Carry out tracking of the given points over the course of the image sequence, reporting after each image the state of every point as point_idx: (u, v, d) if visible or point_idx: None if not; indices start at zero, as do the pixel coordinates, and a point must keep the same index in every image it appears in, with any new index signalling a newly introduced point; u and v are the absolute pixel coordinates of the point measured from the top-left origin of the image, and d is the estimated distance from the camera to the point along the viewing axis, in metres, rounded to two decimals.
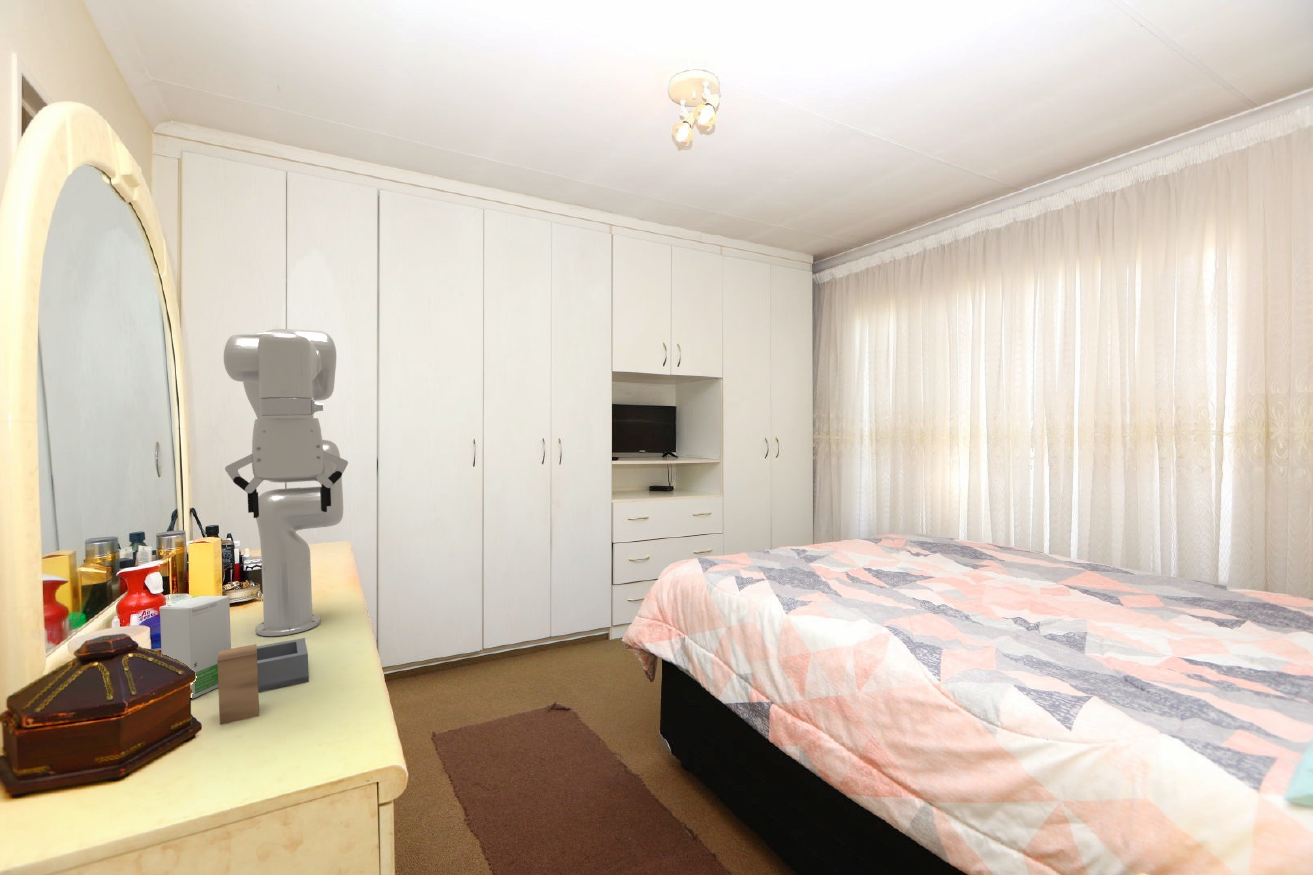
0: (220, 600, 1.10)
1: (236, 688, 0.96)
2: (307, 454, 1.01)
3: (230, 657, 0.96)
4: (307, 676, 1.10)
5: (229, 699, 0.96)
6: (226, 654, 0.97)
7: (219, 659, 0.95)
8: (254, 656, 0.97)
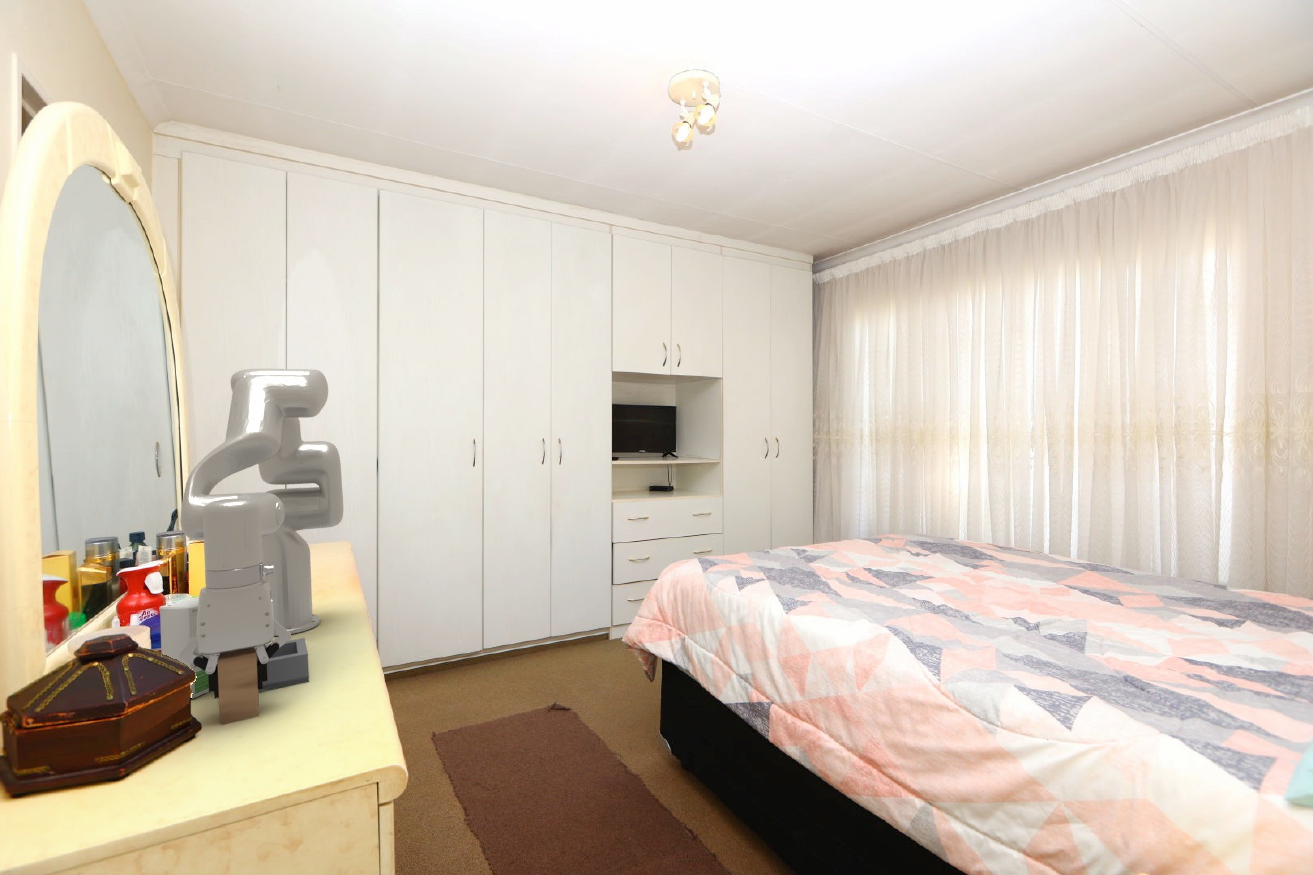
0: None
1: (236, 688, 0.96)
2: (255, 623, 0.97)
3: (230, 657, 0.96)
4: (307, 676, 1.10)
5: (229, 699, 0.96)
6: (226, 653, 0.97)
7: (219, 659, 0.95)
8: (254, 656, 0.97)
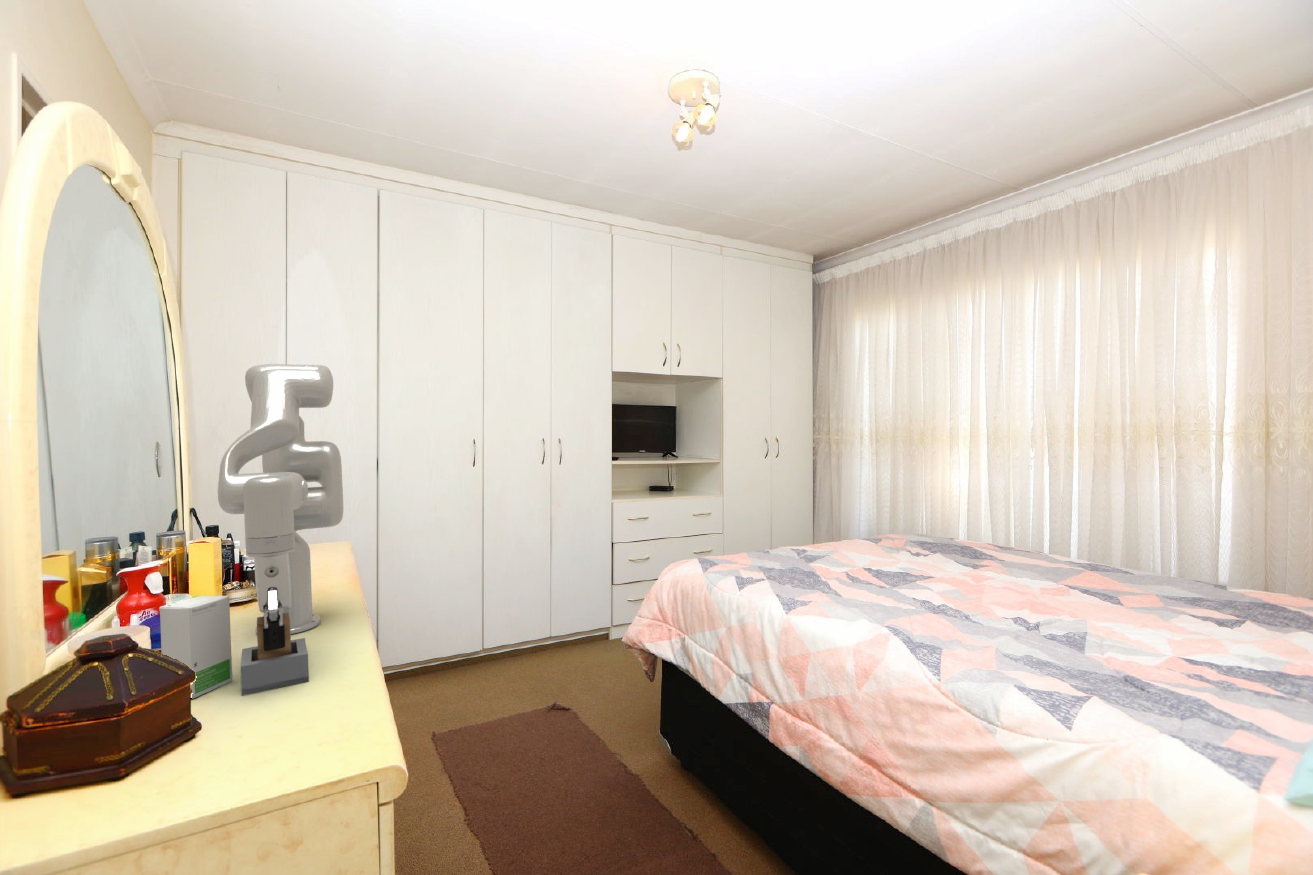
0: (220, 600, 1.10)
1: None
2: (256, 590, 1.08)
3: (259, 619, 1.11)
4: (307, 676, 1.10)
5: None
6: None
7: (259, 617, 1.13)
8: None
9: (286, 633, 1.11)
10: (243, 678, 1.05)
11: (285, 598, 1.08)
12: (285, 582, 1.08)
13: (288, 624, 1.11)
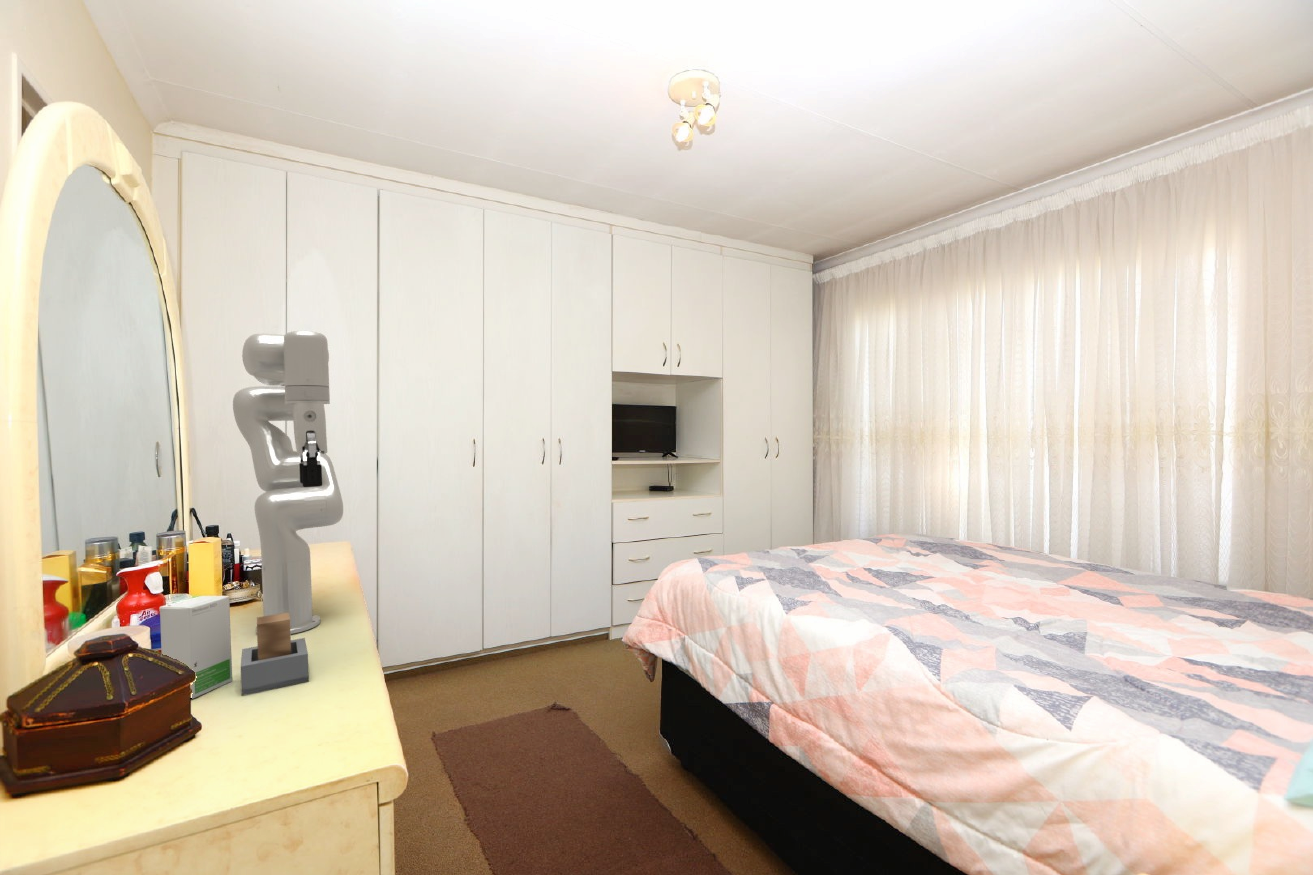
0: (220, 600, 1.10)
1: None
2: (295, 434, 1.16)
3: (259, 619, 1.11)
4: (307, 676, 1.10)
5: None
6: (273, 616, 1.13)
7: (259, 617, 1.13)
8: None
9: (286, 633, 1.11)
10: (243, 678, 1.05)
11: (322, 442, 1.16)
12: (322, 427, 1.17)
13: (288, 624, 1.11)
